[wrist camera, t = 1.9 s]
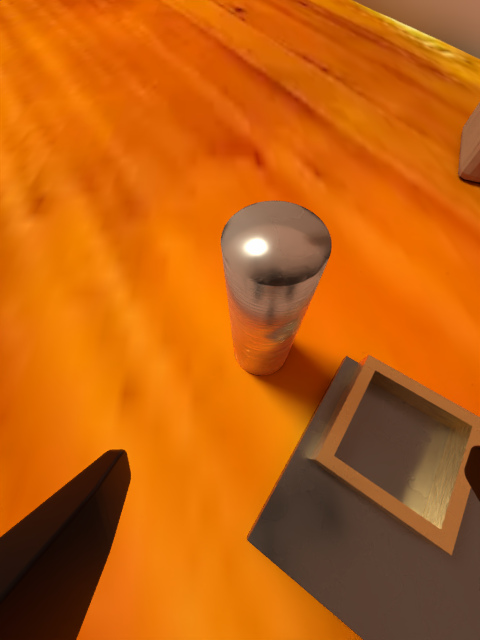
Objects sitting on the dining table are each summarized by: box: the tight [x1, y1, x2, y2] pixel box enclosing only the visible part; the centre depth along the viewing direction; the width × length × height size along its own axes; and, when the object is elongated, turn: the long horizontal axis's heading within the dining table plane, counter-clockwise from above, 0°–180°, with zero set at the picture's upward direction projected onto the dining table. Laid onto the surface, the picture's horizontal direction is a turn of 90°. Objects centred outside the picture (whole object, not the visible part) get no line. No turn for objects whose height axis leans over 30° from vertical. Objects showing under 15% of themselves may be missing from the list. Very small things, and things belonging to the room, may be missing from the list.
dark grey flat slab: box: [247, 355, 480, 640], centre depth 16 cm, size 14×20×3 cm
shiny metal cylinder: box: [221, 201, 331, 375], centre depth 17 cm, size 4×4×13 cm
